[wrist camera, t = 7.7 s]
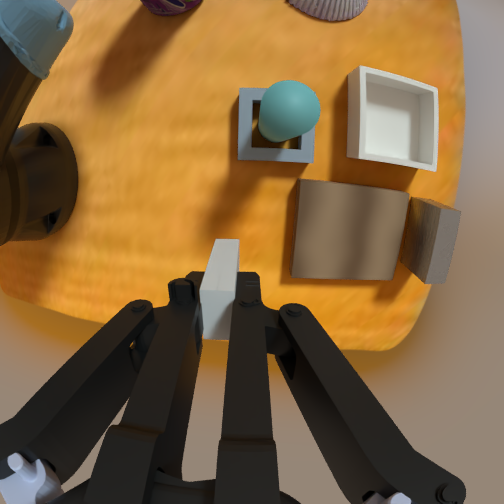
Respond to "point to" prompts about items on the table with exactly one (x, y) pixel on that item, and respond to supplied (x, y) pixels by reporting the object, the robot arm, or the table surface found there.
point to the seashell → (331, 8)
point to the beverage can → (169, 6)
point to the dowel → (287, 111)
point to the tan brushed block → (346, 230)
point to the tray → (392, 119)
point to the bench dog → (430, 239)
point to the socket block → (267, 154)
